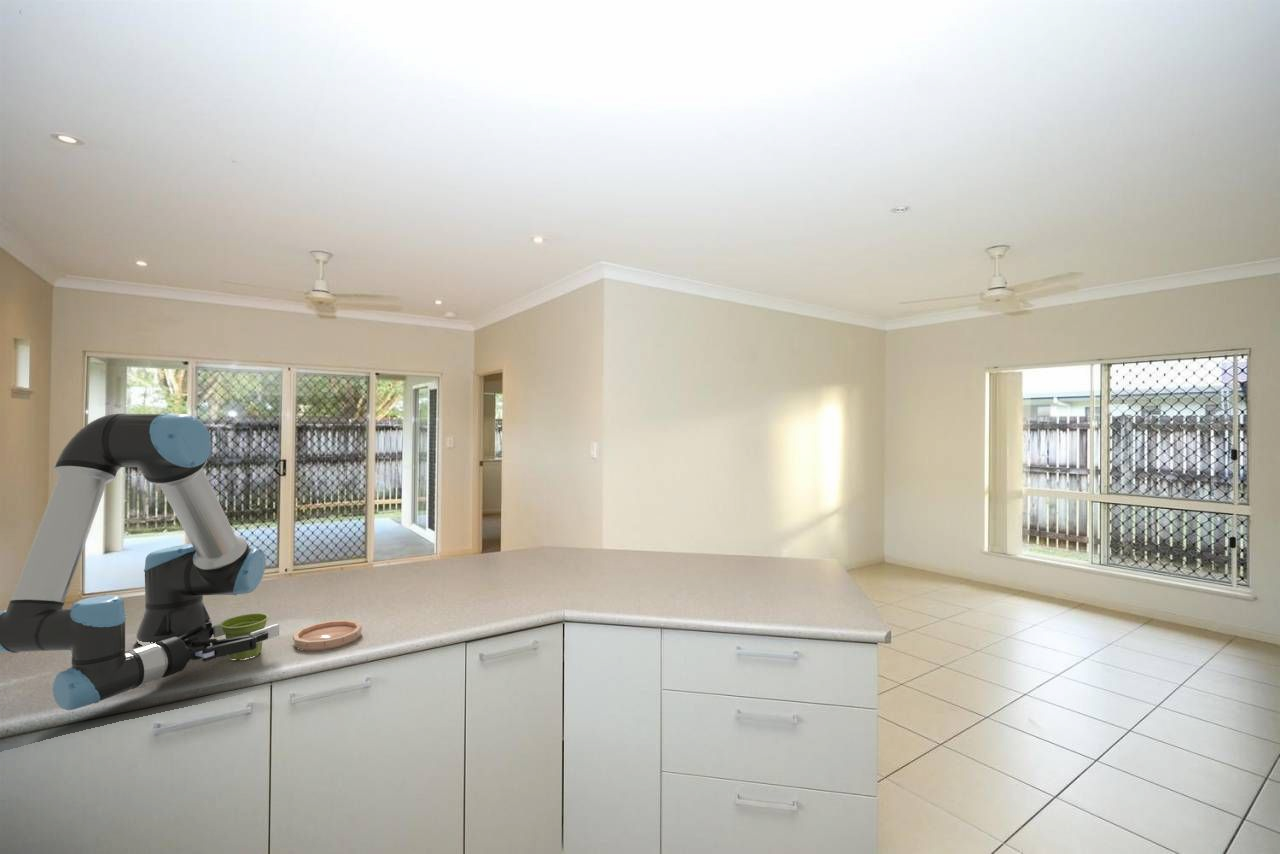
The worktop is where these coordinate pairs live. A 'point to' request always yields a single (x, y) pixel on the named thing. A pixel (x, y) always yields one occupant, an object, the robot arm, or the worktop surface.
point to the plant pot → (244, 631)
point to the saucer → (327, 635)
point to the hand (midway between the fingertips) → (260, 625)
